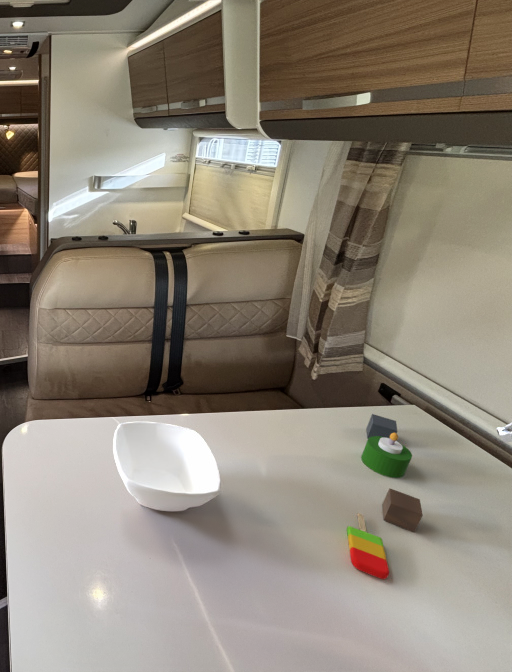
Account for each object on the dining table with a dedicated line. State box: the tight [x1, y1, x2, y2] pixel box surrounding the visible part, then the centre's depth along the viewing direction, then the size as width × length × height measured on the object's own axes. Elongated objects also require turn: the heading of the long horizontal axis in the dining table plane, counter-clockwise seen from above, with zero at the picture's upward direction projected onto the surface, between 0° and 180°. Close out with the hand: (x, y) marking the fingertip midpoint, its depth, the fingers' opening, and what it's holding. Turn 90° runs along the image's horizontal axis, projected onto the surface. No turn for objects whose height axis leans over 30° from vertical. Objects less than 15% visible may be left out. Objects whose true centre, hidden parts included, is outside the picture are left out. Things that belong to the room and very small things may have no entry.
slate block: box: [366, 413, 398, 440], centre depth 114 cm, size 5×5×5 cm
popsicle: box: [346, 512, 390, 580], centre depth 86 cm, size 6×15×2 cm, turn 148°
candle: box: [360, 433, 413, 479], centre depth 104 cm, size 8×8×10 cm
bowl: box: [112, 420, 222, 512], centre depth 97 cm, size 22×22×12 cm
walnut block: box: [381, 488, 424, 533], centre depth 91 cm, size 5×5×5 cm
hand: (499, 435), depth 91 cm, fingers closed
